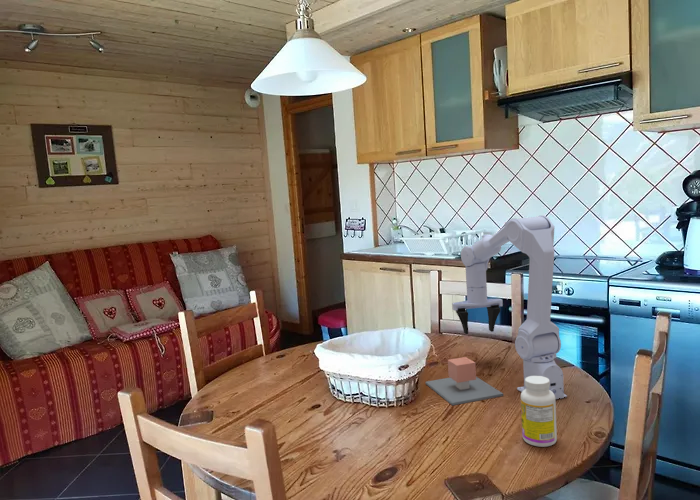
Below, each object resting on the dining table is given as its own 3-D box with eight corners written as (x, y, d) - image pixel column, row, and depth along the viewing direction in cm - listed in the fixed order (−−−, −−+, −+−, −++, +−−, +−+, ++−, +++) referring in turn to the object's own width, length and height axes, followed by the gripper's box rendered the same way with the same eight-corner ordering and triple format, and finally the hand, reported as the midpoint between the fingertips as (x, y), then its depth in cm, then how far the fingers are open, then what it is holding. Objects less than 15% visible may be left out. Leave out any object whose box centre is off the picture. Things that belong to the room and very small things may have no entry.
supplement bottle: (529, 430, 110) (527, 371, 109) (561, 437, 106) (559, 376, 104) (517, 442, 105) (514, 381, 103) (550, 451, 100) (548, 387, 99)
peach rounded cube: (476, 379, 133) (475, 362, 132) (457, 382, 131) (456, 365, 131) (466, 373, 138) (465, 356, 137) (448, 376, 136) (447, 359, 136)
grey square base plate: (503, 395, 129) (502, 381, 128) (452, 405, 125) (451, 391, 125) (471, 375, 144) (471, 363, 144) (425, 383, 141) (424, 371, 140)
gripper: (495, 282, 155) (497, 326, 157) (448, 286, 154) (450, 330, 155) (504, 286, 148) (506, 332, 150) (455, 290, 147) (457, 336, 148)
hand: (478, 332), depth 152 cm, fingers open, 7 cm apart
